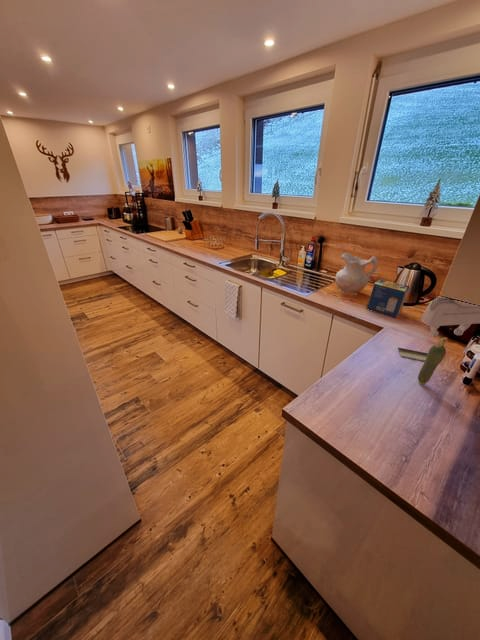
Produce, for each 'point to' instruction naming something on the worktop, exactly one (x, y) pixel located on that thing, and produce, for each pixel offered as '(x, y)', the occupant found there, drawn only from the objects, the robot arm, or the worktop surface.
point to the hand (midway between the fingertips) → (445, 335)
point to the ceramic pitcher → (354, 274)
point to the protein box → (387, 298)
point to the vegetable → (432, 361)
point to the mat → (412, 354)
